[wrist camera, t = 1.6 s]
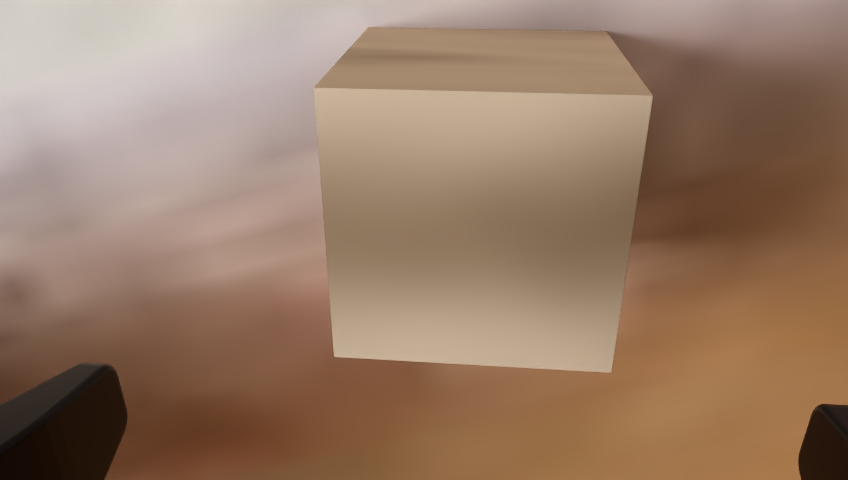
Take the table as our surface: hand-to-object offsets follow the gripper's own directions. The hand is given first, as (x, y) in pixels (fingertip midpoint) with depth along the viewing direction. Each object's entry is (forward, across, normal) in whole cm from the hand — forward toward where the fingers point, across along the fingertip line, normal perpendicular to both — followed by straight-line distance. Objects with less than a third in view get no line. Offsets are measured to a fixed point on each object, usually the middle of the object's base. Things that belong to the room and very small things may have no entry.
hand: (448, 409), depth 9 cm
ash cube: (+11, 0, 0) cm, 11 cm away
